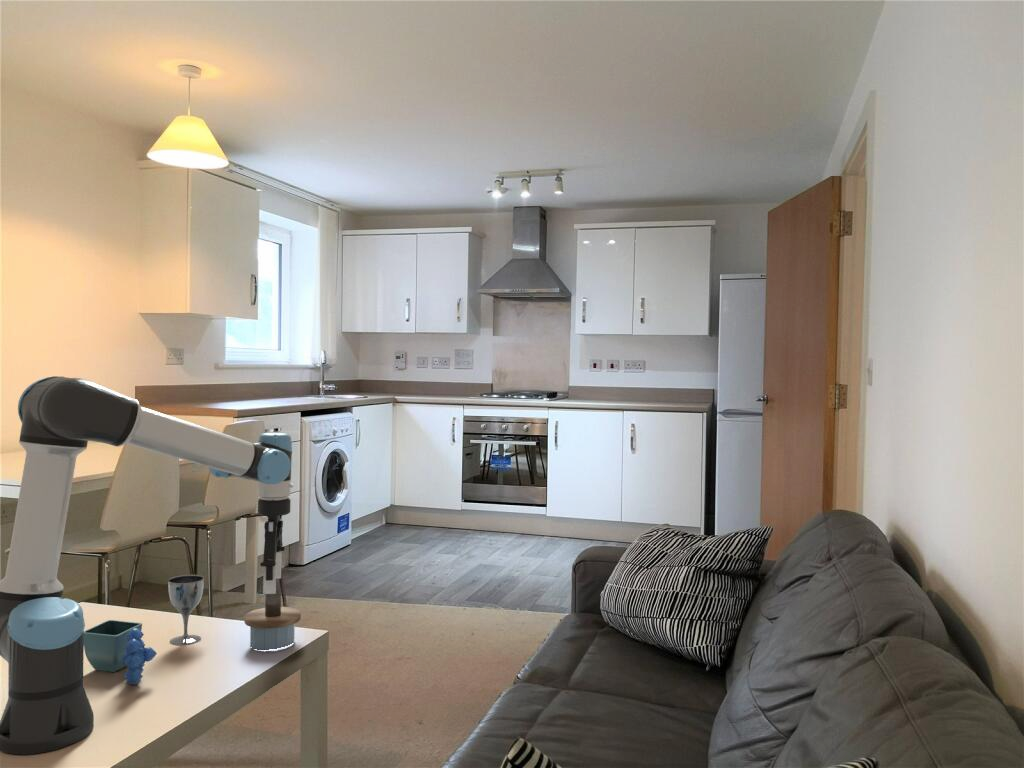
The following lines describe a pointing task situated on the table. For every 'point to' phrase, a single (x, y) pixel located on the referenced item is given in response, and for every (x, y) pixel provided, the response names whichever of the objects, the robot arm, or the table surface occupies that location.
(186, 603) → the wine glass
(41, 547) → the robot arm
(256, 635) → the bowl
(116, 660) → the flower pot
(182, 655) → the table surface
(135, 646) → the grapes
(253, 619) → the lid
